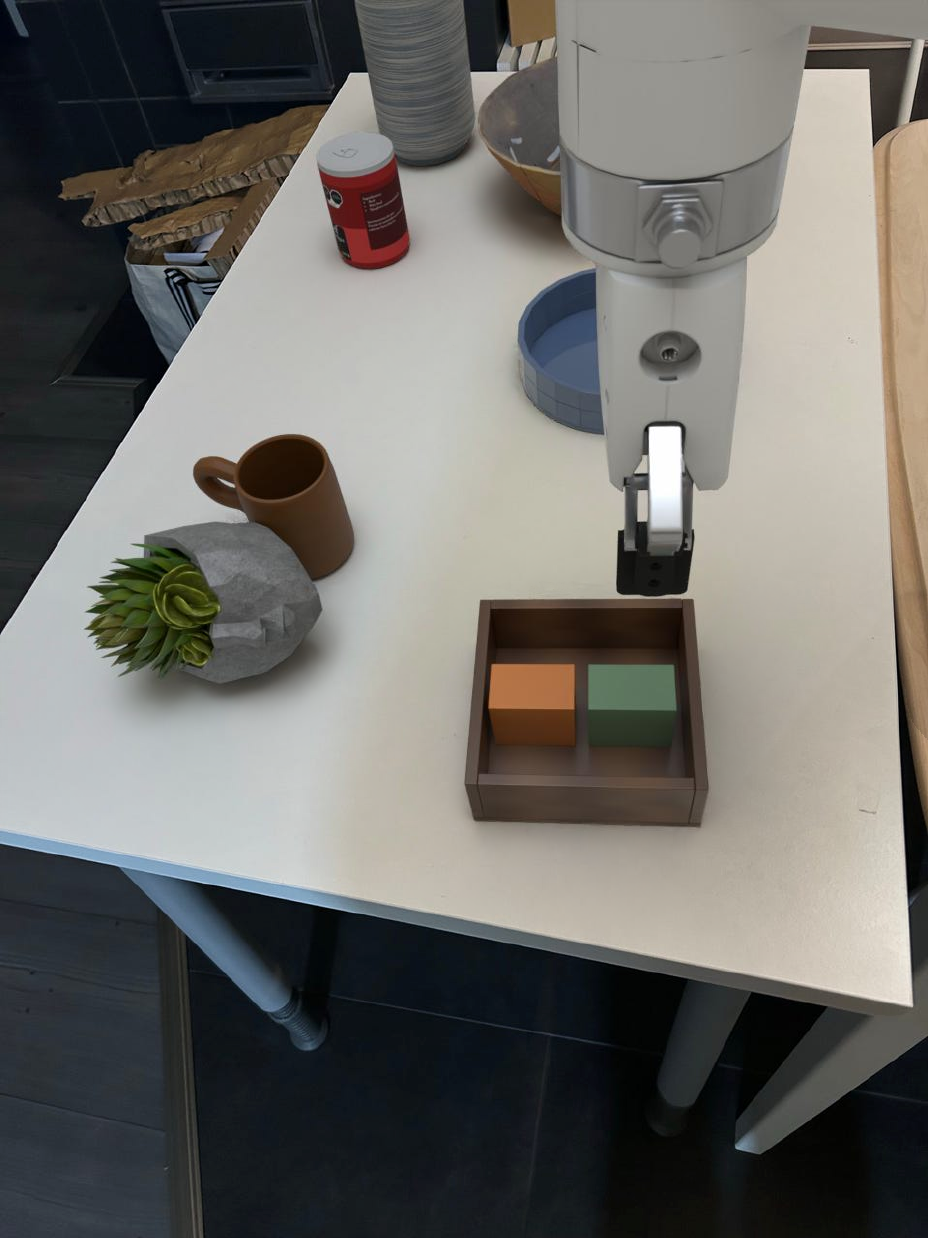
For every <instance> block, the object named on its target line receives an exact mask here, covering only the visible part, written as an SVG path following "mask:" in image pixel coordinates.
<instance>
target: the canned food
mask: <svg viewBox="0 0 928 1238" xmlns="http://www.w3.org/2000/svg"><path fill="white" fill-rule="evenodd" d="M316 164H317V170H318V173H319V178H320V182H321V186H322V190H323V195H324V198H325V202H326V206H327V209H328V215H329V217H330V222H331V226H332V229H333V234H334V237H335V241H336V245H337V249H338V252H339V254H340V256H341V257H342V259H343V260H344V261H345V262H346V263H347V264H349V265H350V266H353V267H354V268H359V269H367V270H371V269H373V270H374V269H380V268H385V267H387V266H390V265H392V264H393V265H394V264H395V263H397V262H398V261H399V260H400V259H402V258H403V257H404V256H405V255H406V254H407V252H408V250H409V247H410V231H409V227H408V221H407V216H406V215H407V214H406V208H405V203H404V198H403V192H402V186H401V180H400V174H399V168H398V162H397V156H396V154H395V152H394V148H393V144H392V142H391V140H389V139H388V138H387V137H385V136H384V135H381V134H379V132H378V133H377V132H371V131H370V132H369V131H358V132H357V131H356V132H350V133H345V134H342V135H339V136H337V137H334V138H332V139H330V140H328V141H327V142H325V143H324V144H322V146H321V147H320V148H319V149H318V150H317V152H316Z"/></svg>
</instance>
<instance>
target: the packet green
mask: <svg viewBox="0 0 928 1238" xmlns="http://www.w3.org/2000/svg"><path fill="white" fill-rule="evenodd" d="M676 712H677V706H676V690H675V674H674V665H588V744H589V746H624V747H671V746H672V739H673V732H674V725H675V718H676Z"/></svg>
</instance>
